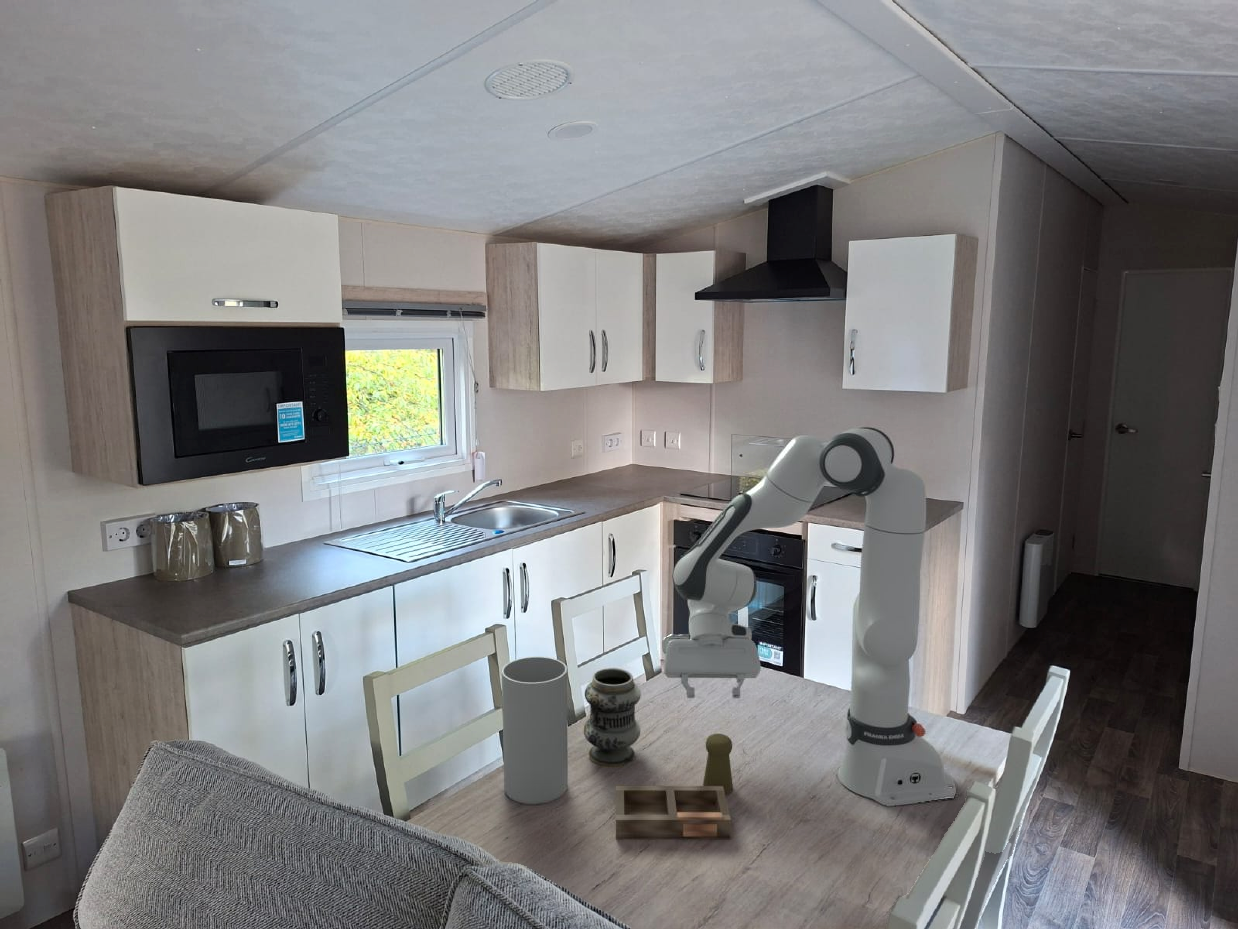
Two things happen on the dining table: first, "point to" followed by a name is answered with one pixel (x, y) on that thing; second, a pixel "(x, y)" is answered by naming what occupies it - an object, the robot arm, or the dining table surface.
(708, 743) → the olive round-topped post
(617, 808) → the spice rack
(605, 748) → the apothecary jar
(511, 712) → the cylinder vase
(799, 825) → the dining table surface
